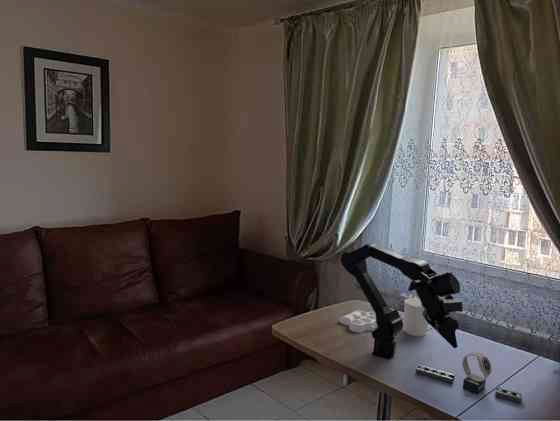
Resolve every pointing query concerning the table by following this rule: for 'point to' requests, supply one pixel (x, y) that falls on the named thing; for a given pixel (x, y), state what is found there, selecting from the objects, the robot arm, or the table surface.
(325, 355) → the table surface
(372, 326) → the white lumpy slab
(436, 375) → the perforated metal strips
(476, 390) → the watch
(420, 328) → the candle holder
